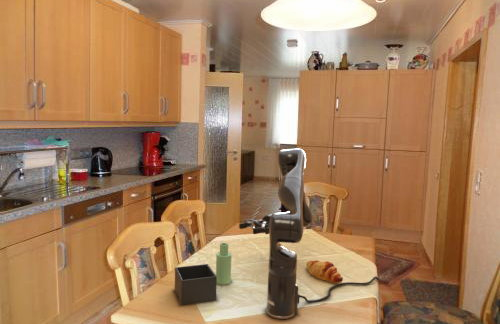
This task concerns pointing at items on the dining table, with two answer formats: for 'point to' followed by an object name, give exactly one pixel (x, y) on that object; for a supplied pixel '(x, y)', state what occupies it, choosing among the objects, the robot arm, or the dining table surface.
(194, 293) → the bin
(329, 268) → the croissant
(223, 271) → the bottle
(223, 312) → the dining table surface
